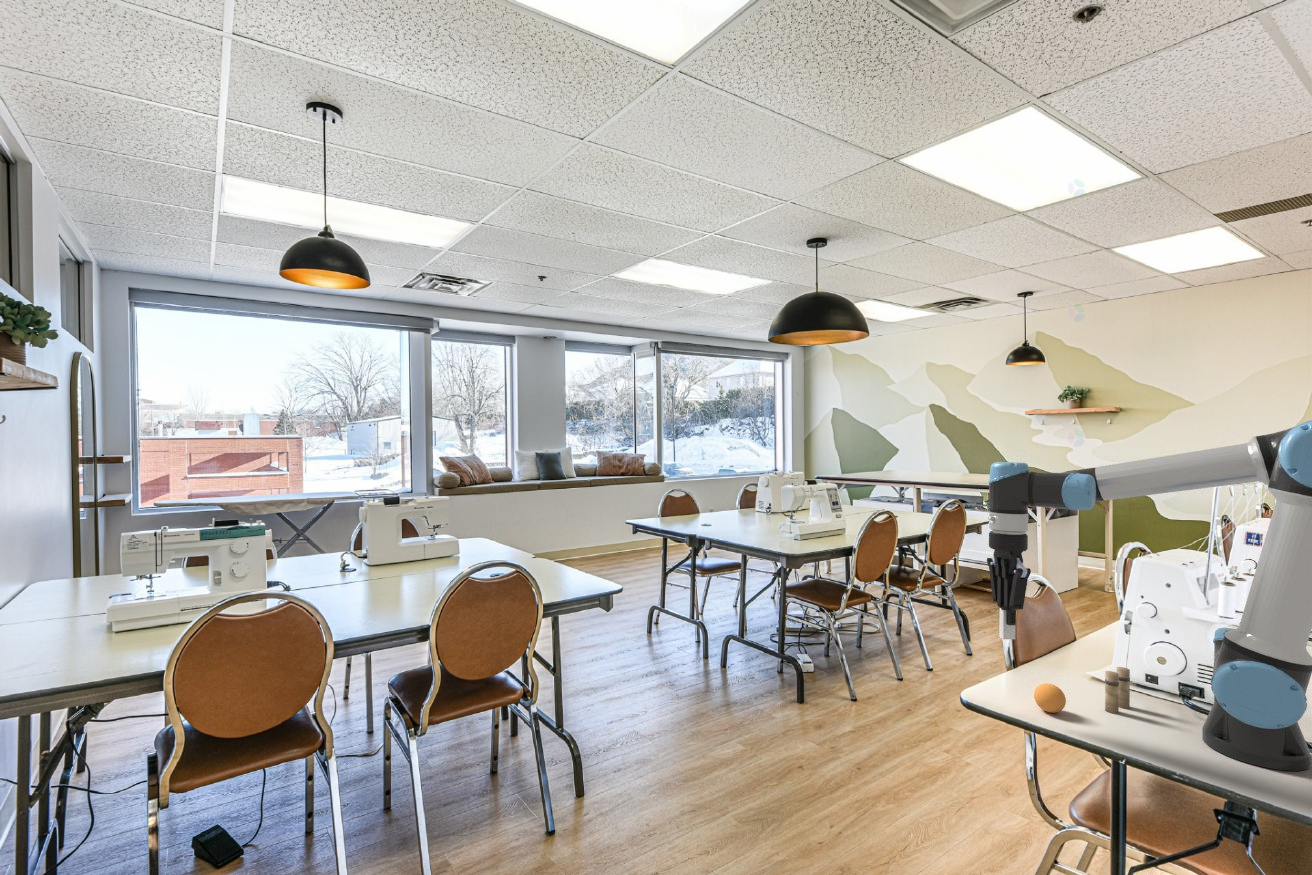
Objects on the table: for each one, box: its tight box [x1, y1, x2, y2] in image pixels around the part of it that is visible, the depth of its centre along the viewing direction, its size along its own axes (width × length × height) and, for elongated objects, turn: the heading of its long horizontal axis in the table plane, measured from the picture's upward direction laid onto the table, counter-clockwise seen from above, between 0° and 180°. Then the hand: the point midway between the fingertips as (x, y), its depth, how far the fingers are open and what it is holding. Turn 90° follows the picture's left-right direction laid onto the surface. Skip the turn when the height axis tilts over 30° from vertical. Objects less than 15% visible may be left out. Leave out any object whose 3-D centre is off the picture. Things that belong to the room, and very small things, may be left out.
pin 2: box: [1116, 666, 1131, 710], centre depth 141 cm, size 2×2×8 cm
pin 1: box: [1104, 670, 1120, 715], centre depth 139 cm, size 2×2×8 cm
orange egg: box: [1033, 682, 1067, 714], centre depth 138 cm, size 6×6×6 cm
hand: (1007, 638), depth 138 cm, fingers closed
